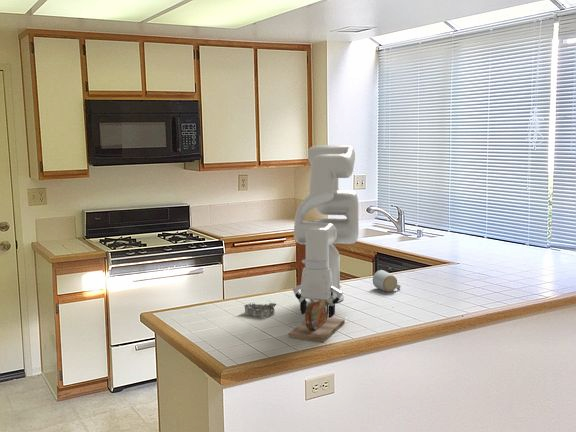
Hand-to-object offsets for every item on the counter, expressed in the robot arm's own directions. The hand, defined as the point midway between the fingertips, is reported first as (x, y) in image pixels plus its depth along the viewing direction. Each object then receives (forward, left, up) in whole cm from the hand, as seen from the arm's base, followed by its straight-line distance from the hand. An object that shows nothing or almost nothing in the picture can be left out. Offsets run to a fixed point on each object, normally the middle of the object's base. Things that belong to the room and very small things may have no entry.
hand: (317, 314), depth 210 cm
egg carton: (-9, -26, -6) cm, 28 cm away
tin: (0, 0, -4) cm, 4 cm away
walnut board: (0, 0, -5) cm, 5 cm away
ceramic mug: (-58, +8, -6) cm, 59 cm away
